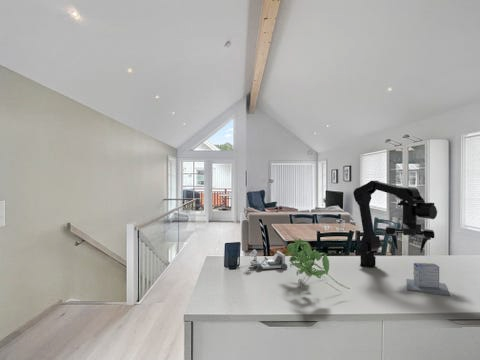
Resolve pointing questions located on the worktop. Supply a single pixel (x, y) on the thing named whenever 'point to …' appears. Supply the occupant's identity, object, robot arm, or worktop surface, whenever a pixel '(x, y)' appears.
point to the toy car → (269, 261)
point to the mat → (428, 288)
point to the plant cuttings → (307, 260)
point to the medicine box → (426, 275)
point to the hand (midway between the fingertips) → (408, 251)
